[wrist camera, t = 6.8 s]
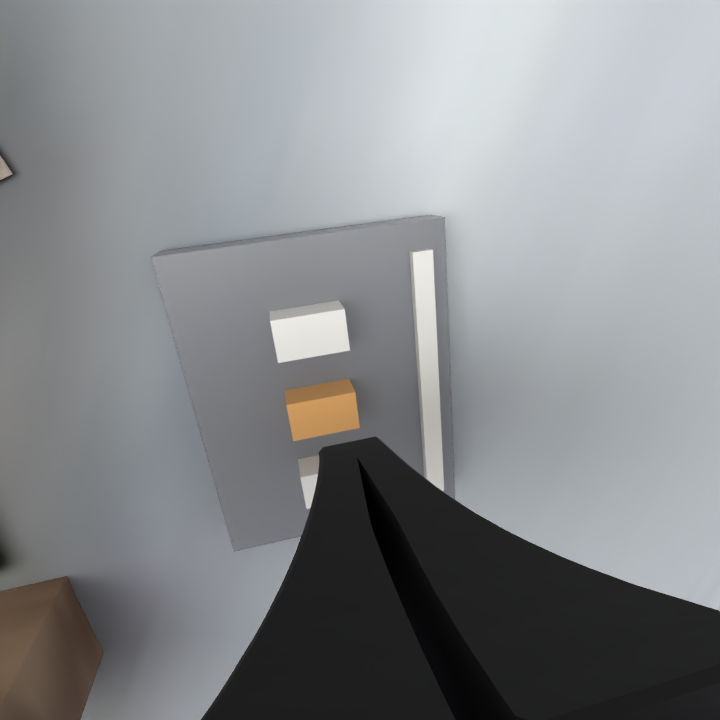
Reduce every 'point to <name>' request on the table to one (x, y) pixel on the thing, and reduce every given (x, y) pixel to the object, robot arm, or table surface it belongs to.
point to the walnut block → (45, 653)
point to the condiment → (4, 169)
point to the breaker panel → (312, 359)
